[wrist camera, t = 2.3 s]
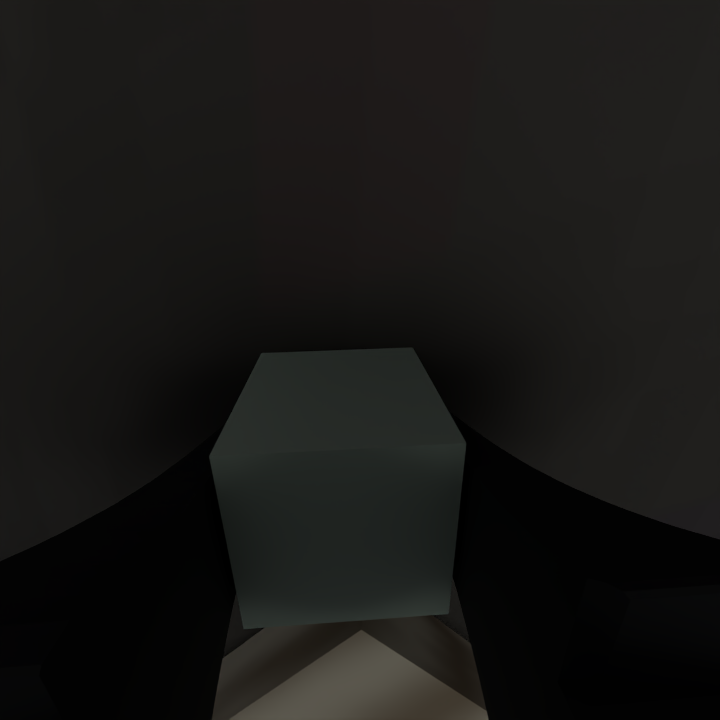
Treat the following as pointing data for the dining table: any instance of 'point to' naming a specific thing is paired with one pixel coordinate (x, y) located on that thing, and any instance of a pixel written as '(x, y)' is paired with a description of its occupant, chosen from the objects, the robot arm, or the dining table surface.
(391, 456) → the sage block
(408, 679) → the birch block
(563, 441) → the dining table surface
